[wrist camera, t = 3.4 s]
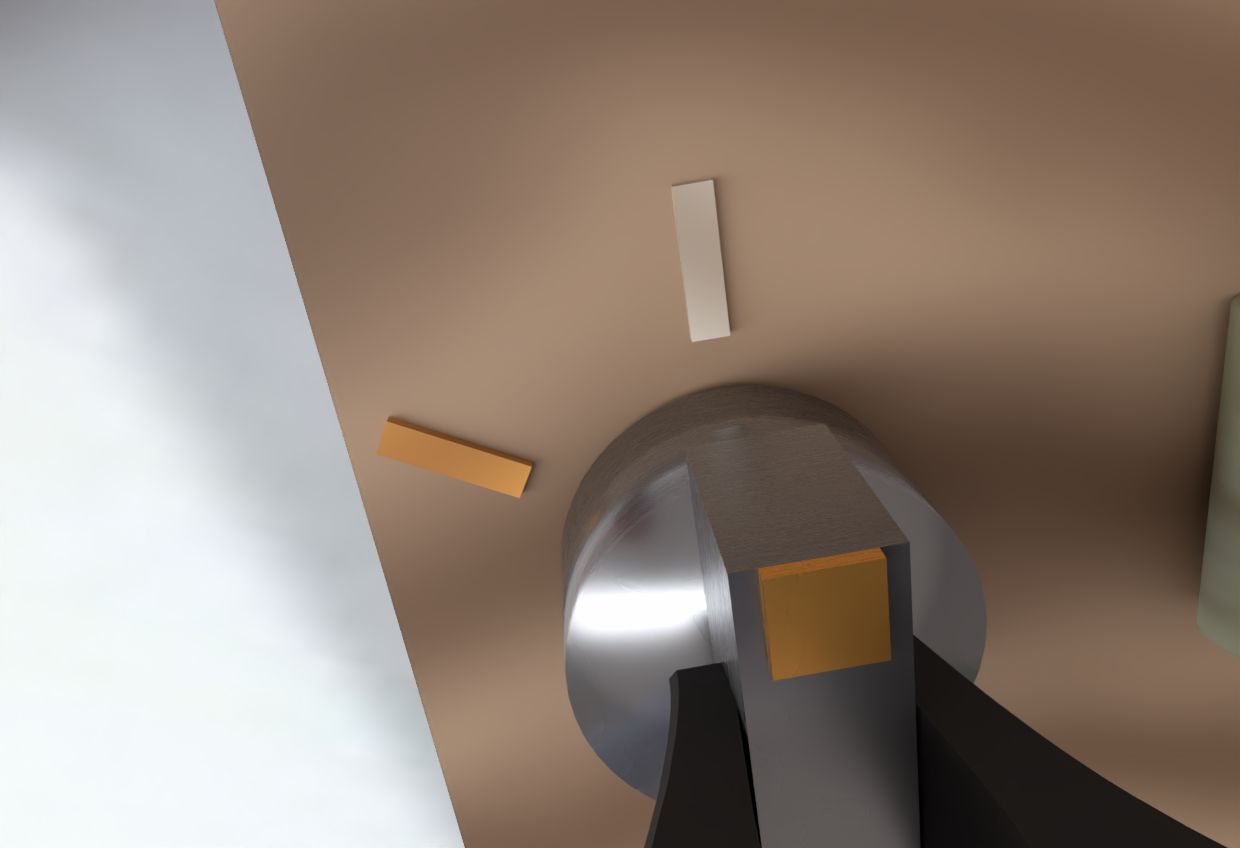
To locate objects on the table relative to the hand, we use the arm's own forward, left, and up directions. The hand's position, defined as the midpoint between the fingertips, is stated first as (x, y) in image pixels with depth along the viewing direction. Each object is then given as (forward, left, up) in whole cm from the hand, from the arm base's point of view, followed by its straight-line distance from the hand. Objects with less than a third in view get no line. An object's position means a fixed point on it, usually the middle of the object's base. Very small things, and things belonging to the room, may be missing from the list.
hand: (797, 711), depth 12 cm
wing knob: (0, 0, -4) cm, 4 cm away
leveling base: (0, -3, -6) cm, 7 cm away
